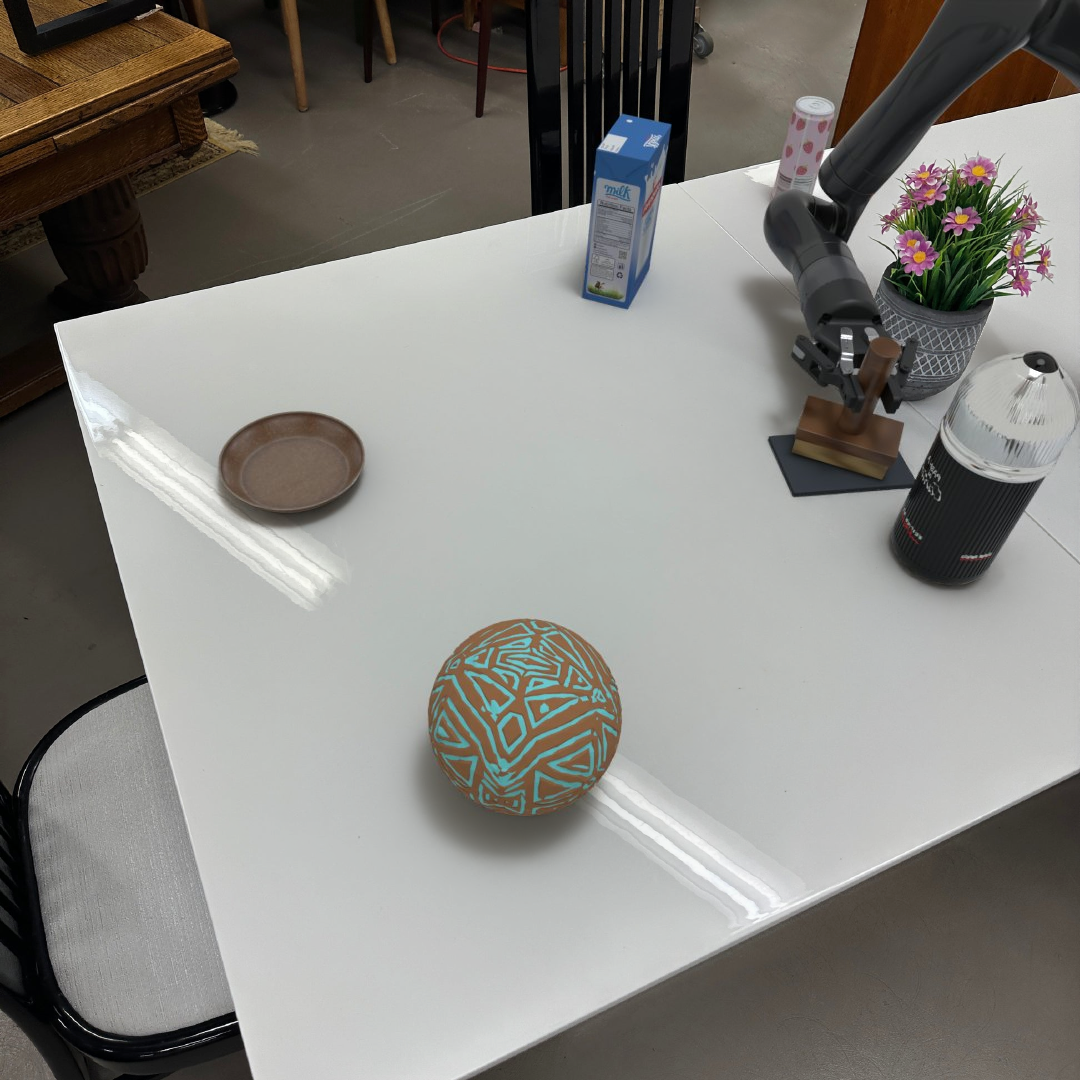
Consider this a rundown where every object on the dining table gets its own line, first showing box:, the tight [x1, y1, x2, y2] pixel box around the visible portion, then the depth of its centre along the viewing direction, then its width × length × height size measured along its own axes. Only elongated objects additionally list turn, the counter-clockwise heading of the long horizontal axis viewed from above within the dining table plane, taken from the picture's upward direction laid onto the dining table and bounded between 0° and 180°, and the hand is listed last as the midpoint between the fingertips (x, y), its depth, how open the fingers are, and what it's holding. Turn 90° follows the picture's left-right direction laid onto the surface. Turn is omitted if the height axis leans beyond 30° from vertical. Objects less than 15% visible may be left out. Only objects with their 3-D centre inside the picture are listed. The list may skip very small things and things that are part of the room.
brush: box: [792, 337, 905, 480], centre depth 100 cm, size 11×6×15 cm, turn 69°
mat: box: [767, 433, 916, 498], centre depth 106 cm, size 14×9×1 cm, turn 99°
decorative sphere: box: [427, 618, 623, 817], centre depth 75 cm, size 15×15×15 cm
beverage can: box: [770, 95, 836, 202], centre depth 137 cm, size 6×6×15 cm
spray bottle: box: [890, 350, 1080, 586], centre depth 89 cm, size 10×10×25 cm
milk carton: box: [582, 113, 672, 310], centre depth 120 cm, size 10×6×20 cm, turn 160°
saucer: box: [217, 410, 366, 514], centre depth 100 cm, size 15×15×3 cm
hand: (876, 406), depth 97 cm, fingers closed on brush, 3 cm apart
